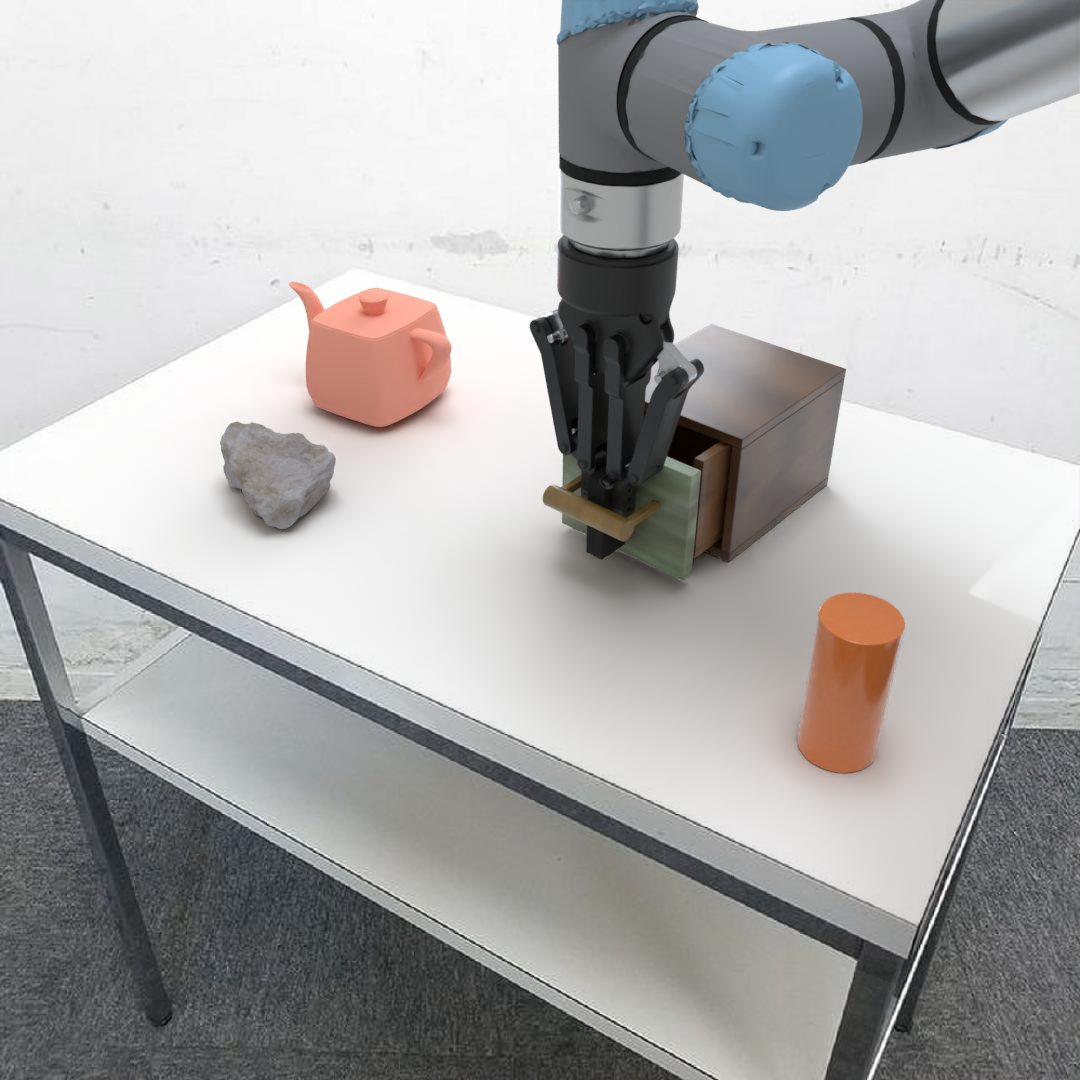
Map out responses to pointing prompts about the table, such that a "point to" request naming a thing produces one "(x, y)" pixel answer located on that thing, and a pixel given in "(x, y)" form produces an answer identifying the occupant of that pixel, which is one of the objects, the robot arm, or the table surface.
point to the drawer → (660, 504)
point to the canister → (849, 681)
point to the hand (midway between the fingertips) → (605, 547)
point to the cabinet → (761, 426)
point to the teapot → (374, 354)
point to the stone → (276, 471)
